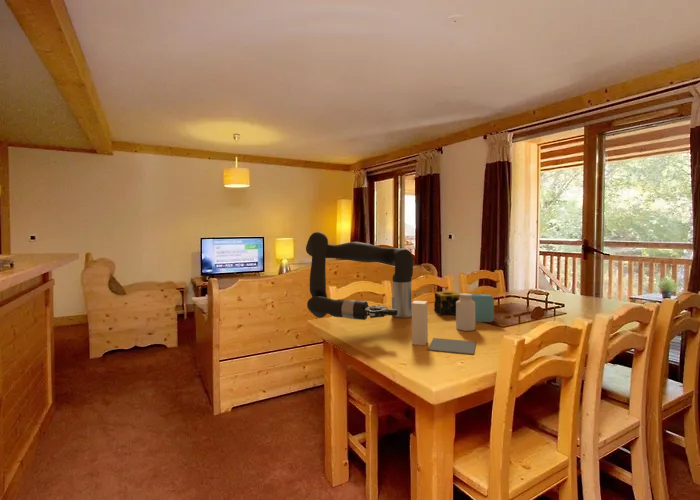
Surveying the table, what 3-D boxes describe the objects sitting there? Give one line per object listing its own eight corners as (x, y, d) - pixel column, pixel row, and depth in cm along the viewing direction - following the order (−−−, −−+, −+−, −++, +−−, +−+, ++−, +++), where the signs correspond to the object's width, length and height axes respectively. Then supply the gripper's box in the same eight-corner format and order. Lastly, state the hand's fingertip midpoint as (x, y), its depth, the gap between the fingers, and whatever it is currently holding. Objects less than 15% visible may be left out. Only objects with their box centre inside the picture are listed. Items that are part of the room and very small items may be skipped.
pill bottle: (476, 327, 167) (476, 293, 166) (474, 332, 159) (474, 296, 158) (457, 325, 170) (457, 292, 169) (454, 330, 163) (454, 295, 162)
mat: (427, 350, 139) (427, 349, 139) (433, 338, 152) (433, 337, 152) (474, 354, 133) (474, 353, 133) (475, 342, 146) (475, 341, 146)
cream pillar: (412, 344, 145) (411, 303, 144) (414, 340, 150) (414, 300, 149) (425, 346, 144) (425, 304, 142) (427, 342, 148) (427, 301, 147)
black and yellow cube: (433, 310, 198) (433, 291, 198) (453, 310, 199) (452, 291, 199) (440, 315, 188) (440, 295, 188) (460, 314, 189) (460, 294, 188)
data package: (491, 319, 178) (491, 294, 177) (493, 322, 174) (494, 296, 173) (465, 319, 180) (465, 294, 179) (466, 321, 176) (466, 296, 175)
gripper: (360, 315, 161) (400, 318, 155) (349, 322, 149) (393, 326, 143) (360, 297, 161) (400, 299, 155) (349, 303, 148) (393, 306, 143)
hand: (397, 312), depth 149 cm, fingers closed
